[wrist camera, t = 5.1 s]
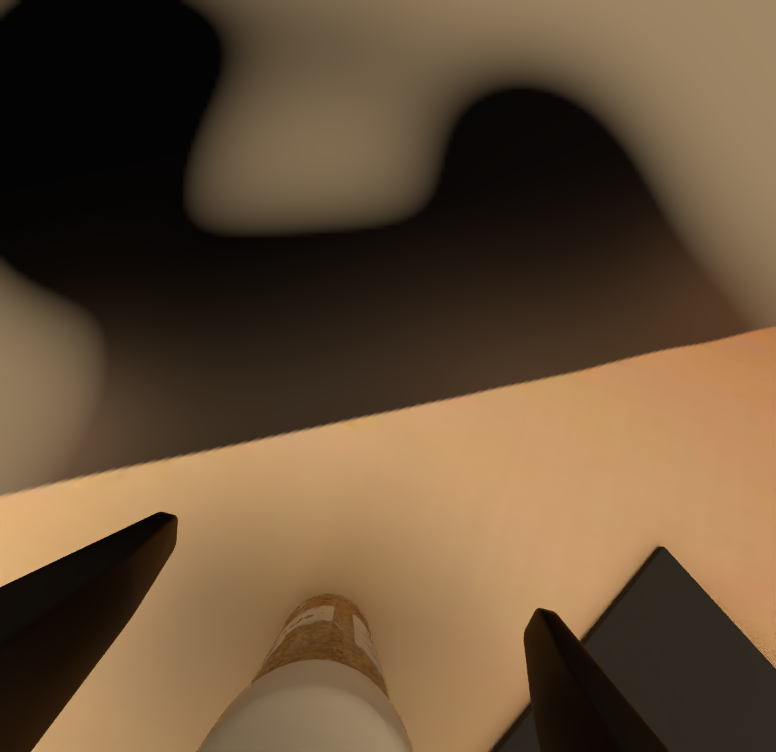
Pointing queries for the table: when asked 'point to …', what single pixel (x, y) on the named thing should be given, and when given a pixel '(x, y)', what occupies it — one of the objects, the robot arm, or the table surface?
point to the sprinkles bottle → (315, 691)
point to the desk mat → (678, 667)
